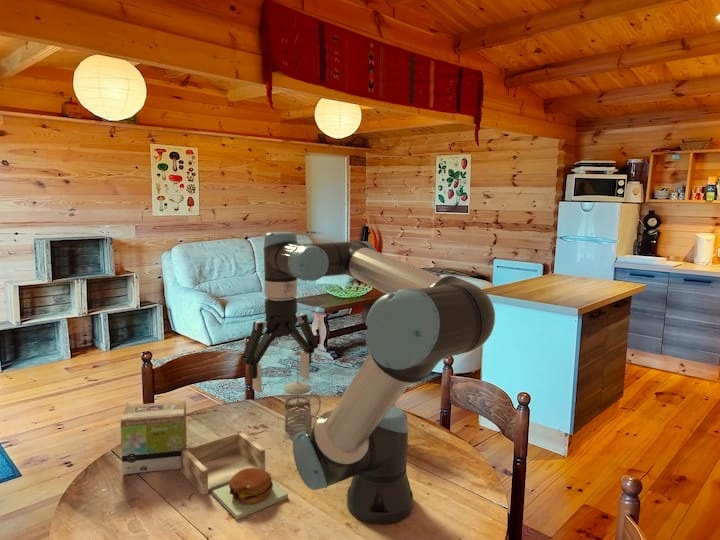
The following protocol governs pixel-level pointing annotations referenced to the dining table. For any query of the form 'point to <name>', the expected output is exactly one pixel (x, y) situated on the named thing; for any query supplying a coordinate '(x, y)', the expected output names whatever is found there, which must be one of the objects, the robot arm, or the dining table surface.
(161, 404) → the tea box
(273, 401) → the dining table surface
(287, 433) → the french press
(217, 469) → the crate
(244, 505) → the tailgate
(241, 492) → the burger
